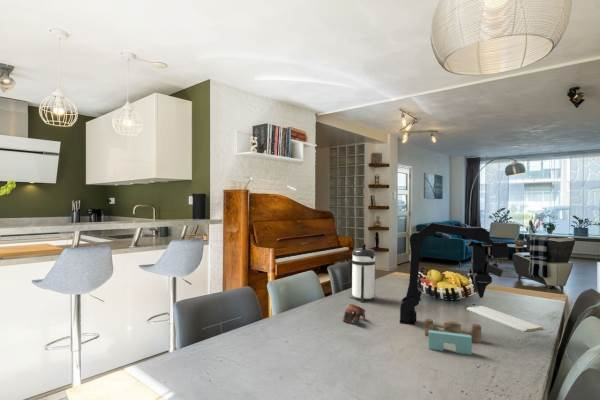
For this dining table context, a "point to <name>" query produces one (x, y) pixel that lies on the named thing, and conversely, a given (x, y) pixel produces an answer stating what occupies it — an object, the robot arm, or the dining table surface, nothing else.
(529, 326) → the baseboard molding
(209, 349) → the dining table surface
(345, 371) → the dining table surface
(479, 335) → the walnut slotted board
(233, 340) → the dining table surface
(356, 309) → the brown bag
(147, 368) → the dining table surface
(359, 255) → the coffee press
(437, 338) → the teal notched plate
